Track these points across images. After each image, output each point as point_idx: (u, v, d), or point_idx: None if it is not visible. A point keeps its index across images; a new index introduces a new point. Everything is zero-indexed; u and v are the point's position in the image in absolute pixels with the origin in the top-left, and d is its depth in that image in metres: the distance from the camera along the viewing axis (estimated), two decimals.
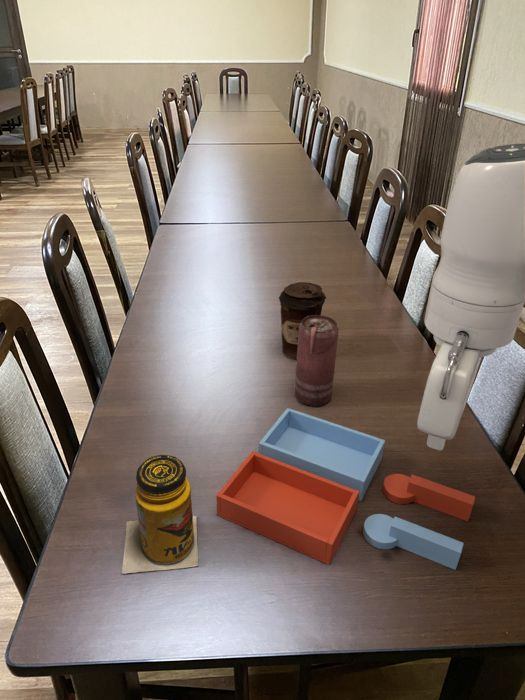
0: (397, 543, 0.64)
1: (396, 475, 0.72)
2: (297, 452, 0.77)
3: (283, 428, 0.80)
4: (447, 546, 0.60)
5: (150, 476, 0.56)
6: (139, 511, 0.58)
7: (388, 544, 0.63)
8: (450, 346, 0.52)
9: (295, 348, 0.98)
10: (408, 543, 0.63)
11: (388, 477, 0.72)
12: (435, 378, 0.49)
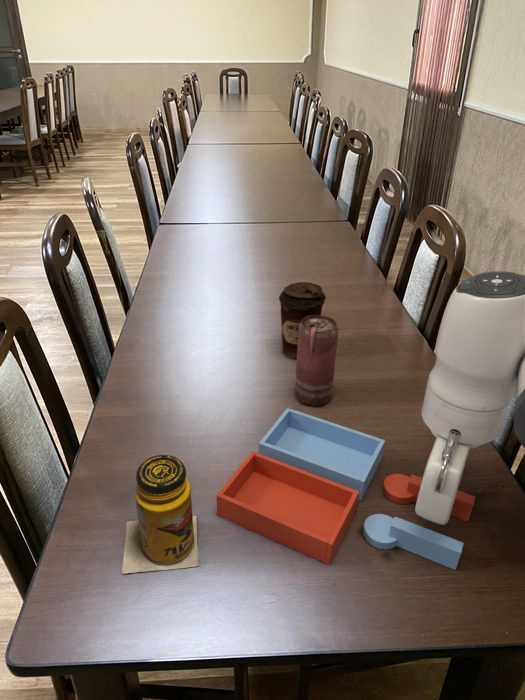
0: (397, 543, 0.64)
1: (396, 475, 0.72)
2: (297, 452, 0.77)
3: (283, 428, 0.80)
4: (447, 546, 0.60)
5: (150, 476, 0.56)
6: (139, 511, 0.58)
7: (388, 544, 0.63)
8: (444, 441, 0.59)
9: (295, 348, 0.98)
10: (408, 543, 0.63)
11: (388, 477, 0.72)
12: (430, 474, 0.56)
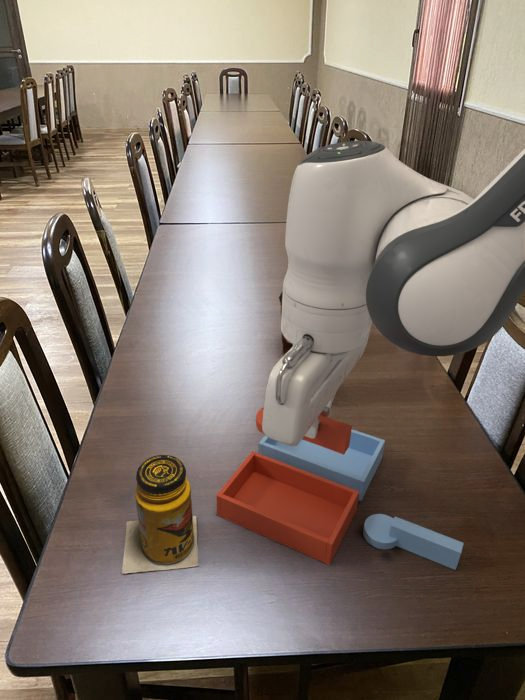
0: (397, 543, 0.64)
1: None
2: (297, 452, 0.77)
3: None
4: (447, 546, 0.60)
5: (150, 476, 0.56)
6: (139, 511, 0.58)
7: (388, 544, 0.63)
8: None
9: None
10: (408, 543, 0.63)
11: (263, 408, 0.64)
12: (273, 383, 0.48)
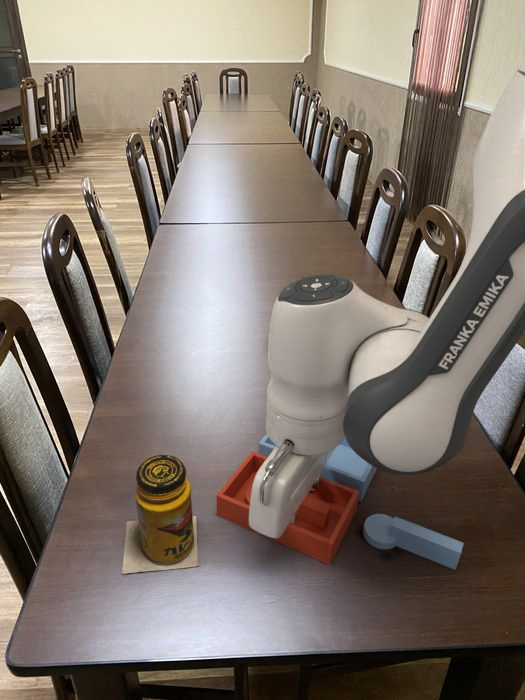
0: (397, 543, 0.64)
1: None
2: None
3: None
4: (447, 546, 0.60)
5: (150, 476, 0.56)
6: (139, 511, 0.58)
7: (388, 544, 0.63)
8: None
9: None
10: (408, 543, 0.63)
11: (252, 484, 0.70)
12: (257, 486, 0.54)
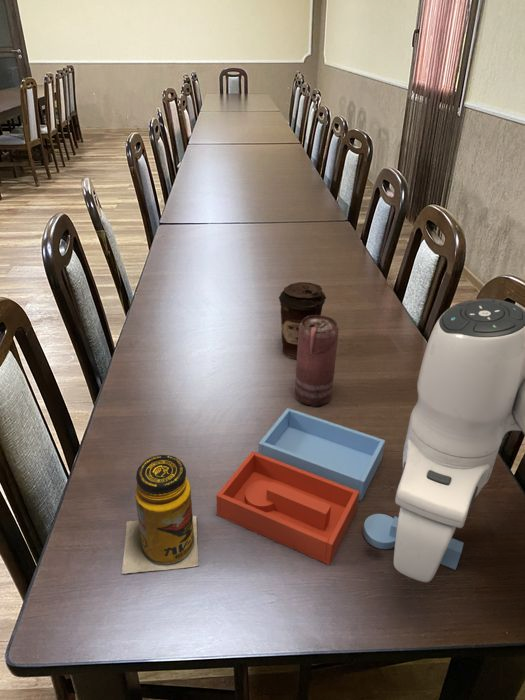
0: None
1: (261, 482, 0.70)
2: (297, 452, 0.77)
3: (283, 428, 0.80)
4: None
5: (150, 476, 0.56)
6: (139, 511, 0.58)
7: (388, 544, 0.63)
8: None
9: (295, 348, 0.98)
10: None
11: (252, 484, 0.70)
12: None
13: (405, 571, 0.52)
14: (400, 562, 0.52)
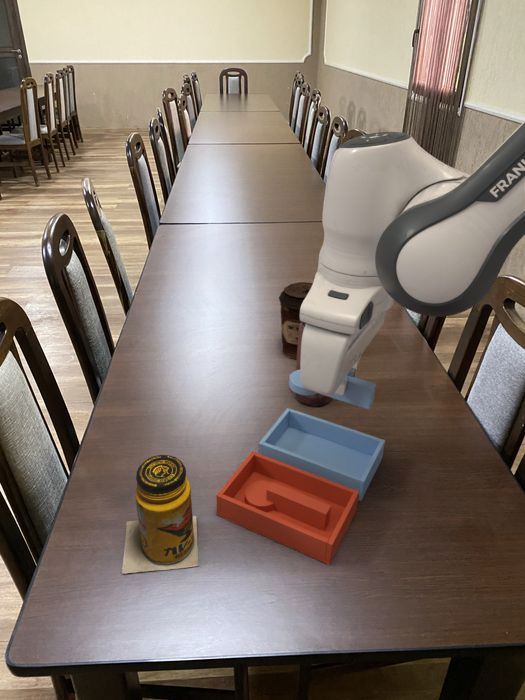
0: None
1: (261, 482, 0.70)
2: (297, 452, 0.77)
3: (283, 428, 0.80)
4: (360, 386, 0.66)
5: (150, 476, 0.57)
6: (139, 511, 0.58)
7: None
8: None
9: (295, 348, 0.98)
10: None
11: (252, 484, 0.70)
12: None
13: (310, 384, 0.57)
14: (305, 376, 0.57)
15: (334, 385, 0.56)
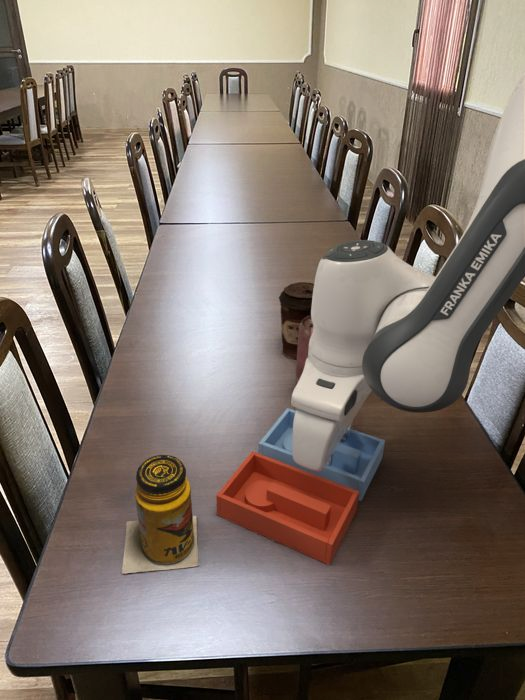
0: None
1: (261, 482, 0.70)
2: None
3: (283, 428, 0.80)
4: (346, 453, 0.72)
5: (150, 476, 0.56)
6: (139, 511, 0.58)
7: None
8: None
9: (295, 348, 0.98)
10: None
11: (252, 484, 0.70)
12: None
13: (301, 462, 0.64)
14: (297, 454, 0.64)
15: (323, 463, 0.63)
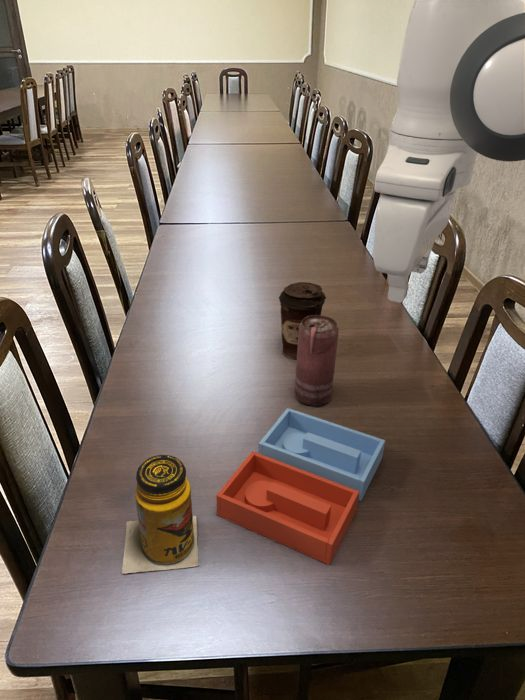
0: (309, 454, 0.76)
1: (261, 482, 0.70)
2: None
3: (283, 428, 0.80)
4: (346, 453, 0.72)
5: (150, 476, 0.57)
6: (139, 511, 0.58)
7: (301, 454, 0.75)
8: None
9: (295, 348, 0.98)
10: (317, 453, 0.75)
11: (252, 484, 0.70)
12: None
13: (385, 263, 0.52)
14: (379, 253, 0.52)
15: (412, 261, 0.52)
